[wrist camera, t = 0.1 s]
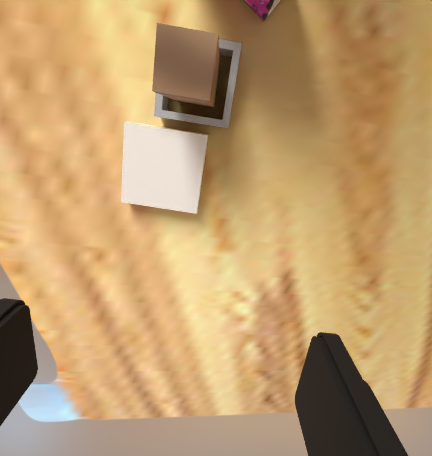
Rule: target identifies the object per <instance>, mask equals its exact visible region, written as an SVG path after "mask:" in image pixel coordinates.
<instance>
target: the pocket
mask: <svg viewBox="0 0 432 456" xmlns="http://www.w3.org/2000/svg"><path fill="white" fill-rule="evenodd" d="M241 46H242V43H240V42H235V41H229V40H223V39H219V55H224V56H229V57H232V61H231V68H230V74H229V81H228V87H227V94H226V100H225V107H224V113H223V120H219V119H213V118H207V117H202V116H196V115H190V114H184V113H178V112H172V111H167V108H168V97H166V96H163V95H161V94H158V93H156V98H155V112H154V116H156V117H162V118H168V119H174V120H180V121H186V122H192V123H198V124H204V125H210V126H216V127H222V128H228V127H229V120H230V114H231V108H232V102H233V96H234V90H235V83H236V77H237V71H238V65H239V59H240V53H241Z"/></svg>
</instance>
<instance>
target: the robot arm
mask: <svg viewBox="0 0 432 456" xmlns="http://www.w3.org/2000/svg"><path fill="white" fill-rule="evenodd" d="M37 370H38V365H37V359H36V351H35V344H34V337H33V330H32V323H31V316H30V309H29V307H28V306H26V305H25V303H24V301H22V300H14V299H5V298H4V299H1V300H0V426H1V424H2V423H3V422H4V420H5V419H6V418H7V416H8V415H9V413H10V412H11V410H12V409H13V408H14V406H15V405H16V404H17V402H18V401H19V400H20V398H21V397H22V395H23V394H24V393H25V391H26V390H27V389H28V387H29V386H30V384H31V383H32V382H33V380H34V378H35V376H36V374H37ZM295 405H296V410H297V413H298V417H299V421H300V425H301V429H302V433H303V437H304V440H305V445H306V448H307V452H308V456H408V455H407V453H406V451H405V449H404V447H403V446H402V444H401V442H400V440H399V438H398V436H397V435H396V433H395V431H394V429H393V428H392V426H391V424H390V422H389V420H388V418H387V417H386V415H385V413H384V411H383V409H382V408H381V406H380V404H379V402H378V400H377V399H376V397H375V395H374V393H373V391H372V390H371V388H370V386H369V385H368V384H367V383H366V382H365V381H364V380H363V379H362V377H361V375H360V373H359V372H358V370H357V368H356V366H355V364H354V362H353V361H352V359H351V357H350V355H349V353H348V351H347V349H346V348H345V346H344V344H343V342H342V340H341V338H340V337H339V335H337V334H331V333H322V332H320V333H318V335H317V337H316V336H313V337H312V339H311V343H310V346H309V349H308V353H307V356H306V360H305V363H304V366H303V370H302V373H301V377H300V380H299V384H298V387H297V390H296V394H295Z"/></svg>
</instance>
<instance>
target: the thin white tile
mask: <svg viewBox="0 0 432 456" xmlns="http://www.w3.org/2000/svg"><path fill="white" fill-rule="evenodd" d="M207 141H208V134H202V133H196V132H190V131H184V130H178V129H172V128H166V127H160V126H154V125H148V124H142V123H136V122H124V143H123V169H122V195H121V202H124V203H130V204H137V205H143V206H150V207H156V208H163V209H169V210H175V211H182V212H188V213H195V214H197V211H198V205H199V198H200V191H201V184H202V177H203V170H204V163H205V155H206V148H207Z"/></svg>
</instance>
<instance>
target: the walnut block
mask: <svg viewBox="0 0 432 456" xmlns="http://www.w3.org/2000/svg"><path fill="white" fill-rule="evenodd" d="M219 70H220V57H219V35H218V34H215V33H210V32H204V31H199V30H193V29H187V28H182V27H176V26H170V25H165V24H159V23H157V31H156V45H155V60H154V74H153V89H152V91H153V92H156V93H158V94H161V95H163V96H166V97H168V98H171V99H173V100H175V101H178V102H183V103H189V104H195V105H201V106H207V107H213V108H214V106H215V99H216V91H217V84H218V77H219Z"/></svg>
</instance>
